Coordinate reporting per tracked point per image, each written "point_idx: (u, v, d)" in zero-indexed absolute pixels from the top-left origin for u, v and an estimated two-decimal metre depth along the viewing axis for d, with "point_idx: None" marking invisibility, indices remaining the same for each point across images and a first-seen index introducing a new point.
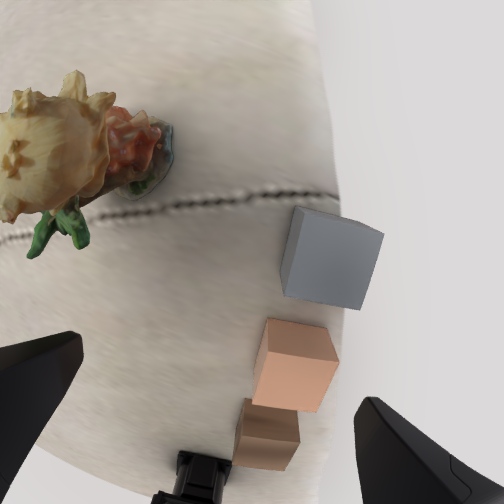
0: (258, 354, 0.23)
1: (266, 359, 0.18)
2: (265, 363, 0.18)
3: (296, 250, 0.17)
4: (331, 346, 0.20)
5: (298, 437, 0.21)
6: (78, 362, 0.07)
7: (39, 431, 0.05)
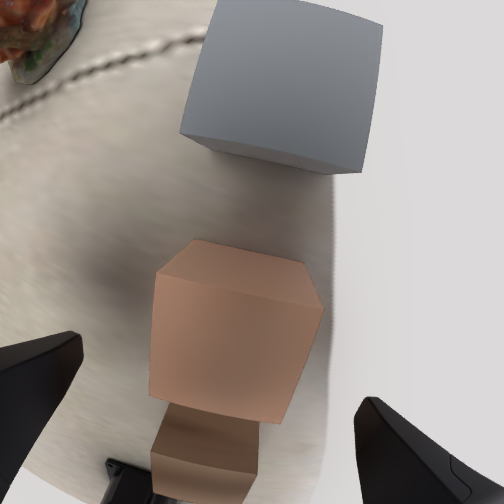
0: None
1: (156, 293, 0.08)
2: (155, 303, 0.08)
3: (205, 42, 0.07)
4: (309, 284, 0.10)
5: (255, 464, 0.11)
6: (78, 362, 0.07)
7: (39, 431, 0.05)
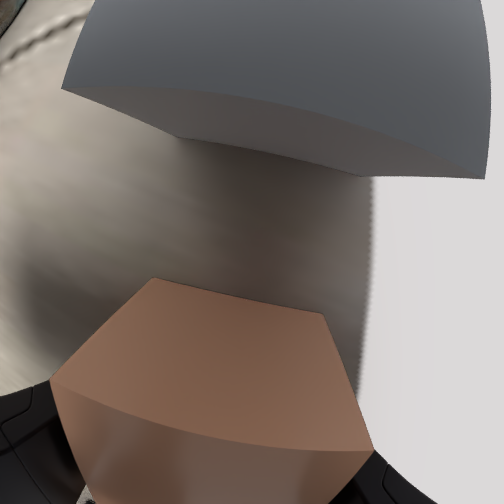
0: None
1: (60, 408, 0.03)
2: (63, 421, 0.04)
3: None
4: (339, 374, 0.05)
5: None
6: None
7: None
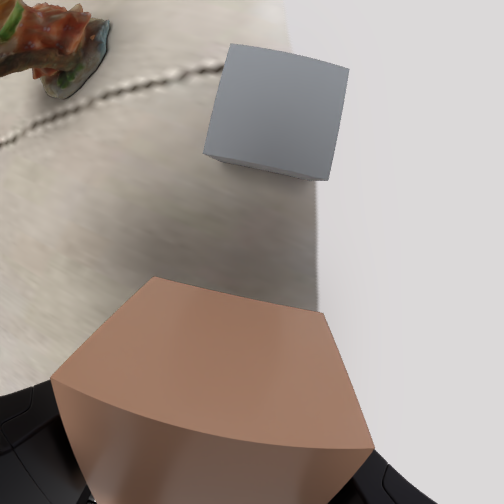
0: None
1: (61, 407, 0.03)
2: (64, 420, 0.04)
3: (219, 87, 0.10)
4: (339, 373, 0.05)
5: None
6: None
7: None
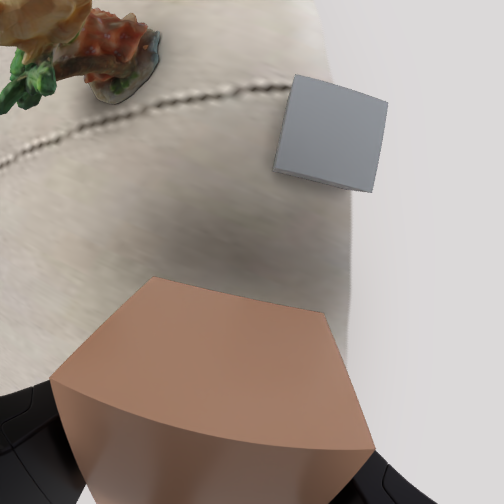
0: None
1: (60, 407, 0.03)
2: (63, 420, 0.04)
3: (287, 112, 0.13)
4: (340, 373, 0.05)
5: None
6: None
7: None
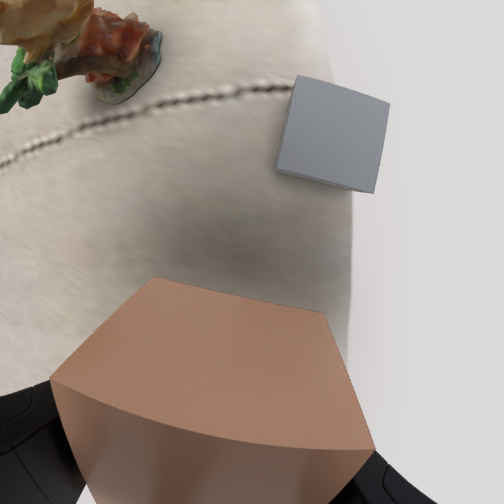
0: None
1: (60, 407, 0.03)
2: (63, 420, 0.04)
3: (290, 113, 0.13)
4: (340, 373, 0.05)
5: None
6: None
7: None
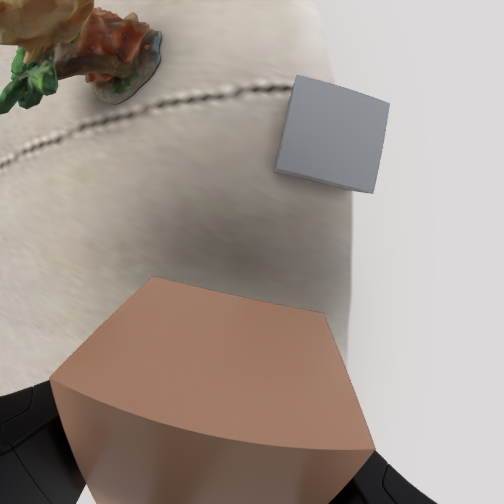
0: None
1: (60, 407, 0.03)
2: (63, 420, 0.04)
3: (289, 113, 0.13)
4: (340, 373, 0.05)
5: None
6: None
7: None
